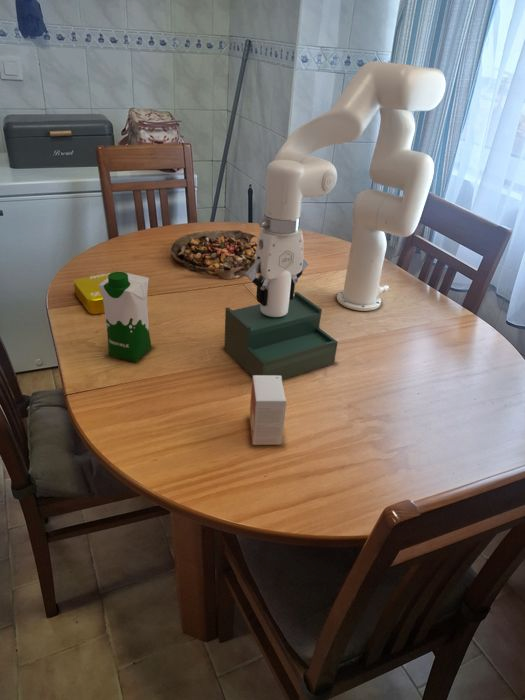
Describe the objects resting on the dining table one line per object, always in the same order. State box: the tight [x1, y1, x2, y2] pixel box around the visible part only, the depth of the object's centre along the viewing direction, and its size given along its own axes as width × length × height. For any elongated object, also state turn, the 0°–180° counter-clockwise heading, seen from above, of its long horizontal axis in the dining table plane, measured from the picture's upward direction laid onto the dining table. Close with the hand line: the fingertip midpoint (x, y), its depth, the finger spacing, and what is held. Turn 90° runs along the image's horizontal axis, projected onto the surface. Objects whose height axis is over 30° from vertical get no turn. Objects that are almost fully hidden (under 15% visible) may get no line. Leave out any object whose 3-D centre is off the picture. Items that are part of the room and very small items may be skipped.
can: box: [259, 271, 292, 318], centre depth 114 cm, size 6×6×12 cm
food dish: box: [169, 229, 259, 280], centre depth 168 cm, size 35×33×8 cm
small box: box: [249, 375, 287, 446], centre depth 95 cm, size 8×6×10 cm
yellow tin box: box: [73, 270, 128, 315], centre depth 138 cm, size 15×15×5 cm
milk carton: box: [99, 271, 152, 363], centre depth 113 cm, size 9×9×20 cm
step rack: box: [223, 291, 338, 381], centre depth 118 cm, size 17×20×11 cm
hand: (275, 299), depth 116 cm, fingers closed on can, 6 cm apart
